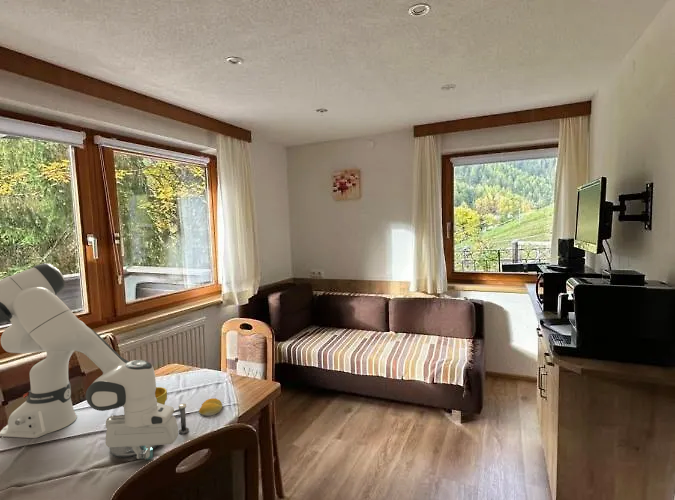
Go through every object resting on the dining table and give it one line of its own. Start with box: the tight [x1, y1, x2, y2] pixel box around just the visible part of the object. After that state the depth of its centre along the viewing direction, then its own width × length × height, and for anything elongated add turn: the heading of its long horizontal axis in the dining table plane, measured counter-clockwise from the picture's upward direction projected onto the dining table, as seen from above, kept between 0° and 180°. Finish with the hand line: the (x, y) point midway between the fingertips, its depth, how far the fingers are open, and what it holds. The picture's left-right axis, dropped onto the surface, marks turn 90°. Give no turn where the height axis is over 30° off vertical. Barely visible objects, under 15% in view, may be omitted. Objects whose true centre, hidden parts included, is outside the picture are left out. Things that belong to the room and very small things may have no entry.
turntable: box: [109, 445, 160, 461], centre depth 121 cm, size 16×20×3 cm
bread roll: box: [198, 398, 223, 417], centre depth 144 cm, size 8×9×4 cm
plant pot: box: [155, 386, 168, 405], centre depth 139 cm, size 10×10×10 cm
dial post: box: [173, 403, 190, 435], centre depth 129 cm, size 5×4×10 cm
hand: (143, 457), depth 112 cm, fingers closed
